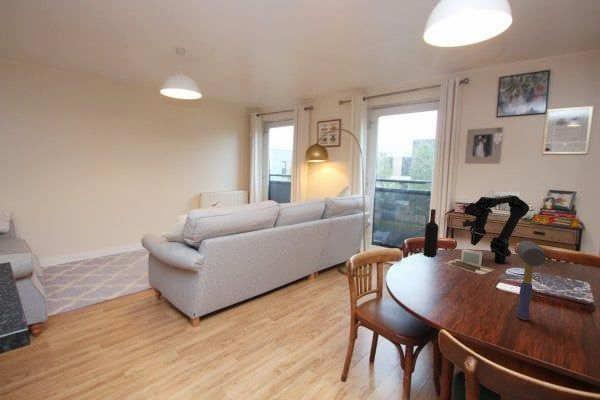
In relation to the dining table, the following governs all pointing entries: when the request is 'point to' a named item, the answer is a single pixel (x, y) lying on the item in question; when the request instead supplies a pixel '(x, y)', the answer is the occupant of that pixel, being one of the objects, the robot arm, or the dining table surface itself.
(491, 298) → the dining table surface
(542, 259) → the rubber mallet
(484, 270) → the display stand
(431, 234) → the wine bottle
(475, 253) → the white block
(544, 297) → the dining table surface
